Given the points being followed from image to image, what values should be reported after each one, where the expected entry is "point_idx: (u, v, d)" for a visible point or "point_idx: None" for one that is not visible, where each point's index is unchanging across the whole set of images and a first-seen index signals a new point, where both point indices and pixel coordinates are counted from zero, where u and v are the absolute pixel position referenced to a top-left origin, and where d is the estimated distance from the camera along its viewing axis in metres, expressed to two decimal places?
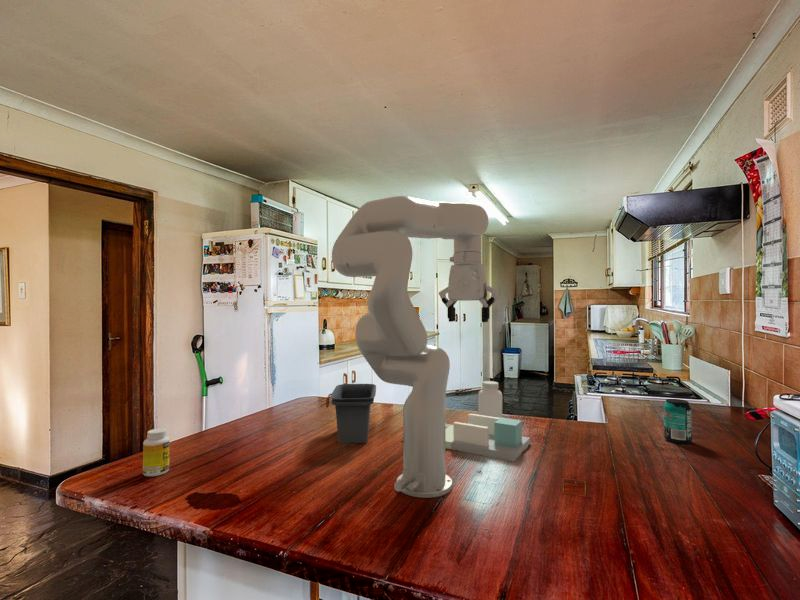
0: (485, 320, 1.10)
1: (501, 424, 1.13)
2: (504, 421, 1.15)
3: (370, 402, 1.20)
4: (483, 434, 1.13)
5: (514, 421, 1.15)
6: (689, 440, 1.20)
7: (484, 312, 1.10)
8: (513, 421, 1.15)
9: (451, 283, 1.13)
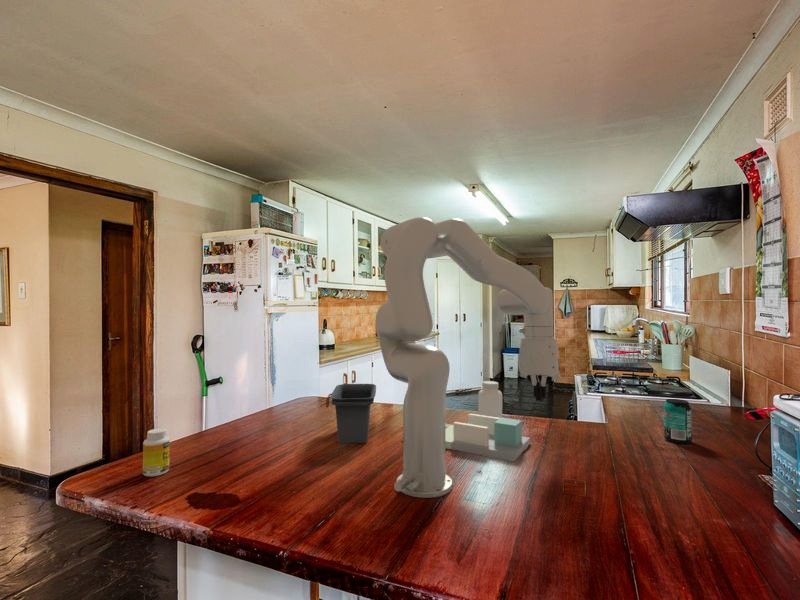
0: (542, 399, 1.11)
1: (501, 424, 1.13)
2: (504, 421, 1.15)
3: (370, 402, 1.20)
4: (483, 434, 1.13)
5: (514, 421, 1.15)
6: (689, 440, 1.20)
7: (542, 391, 1.10)
8: (513, 421, 1.15)
9: (522, 356, 1.11)
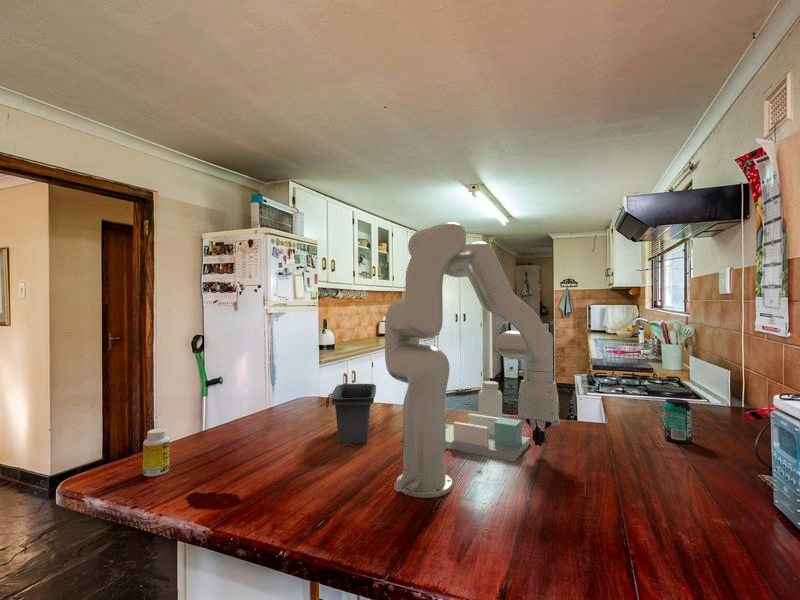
0: (541, 443, 1.10)
1: (501, 424, 1.13)
2: (504, 421, 1.15)
3: (370, 402, 1.20)
4: (483, 434, 1.13)
5: (514, 421, 1.15)
6: (689, 440, 1.20)
7: (541, 436, 1.10)
8: (513, 421, 1.15)
9: (522, 400, 1.11)
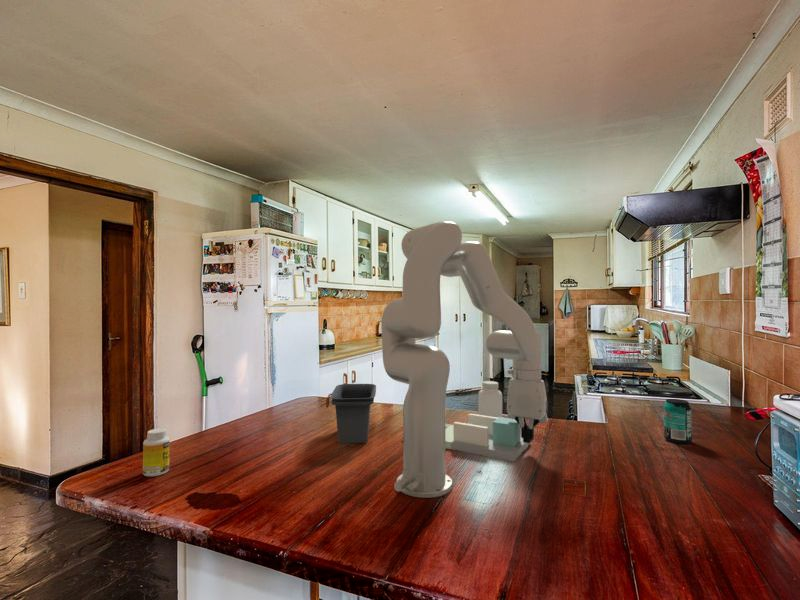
0: (530, 441, 1.12)
1: (499, 423, 1.14)
2: (503, 421, 1.16)
3: (370, 402, 1.20)
4: (483, 434, 1.13)
5: (512, 421, 1.16)
6: (689, 440, 1.20)
7: (529, 433, 1.12)
8: (511, 421, 1.16)
9: (510, 398, 1.13)
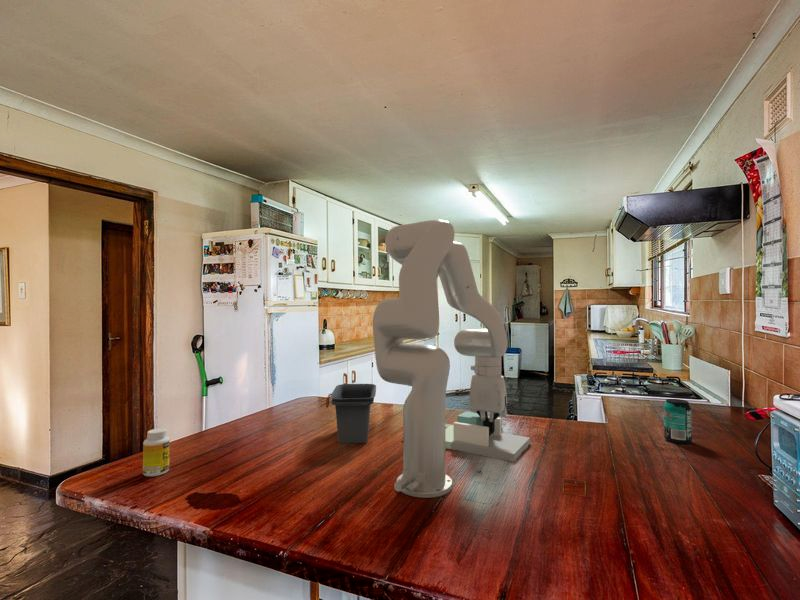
0: (490, 433, 1.18)
1: (463, 417, 1.20)
2: (467, 415, 1.22)
3: (370, 402, 1.20)
4: (483, 434, 1.13)
5: (476, 415, 1.22)
6: (689, 440, 1.20)
7: (490, 426, 1.18)
8: (475, 415, 1.22)
9: (472, 393, 1.19)
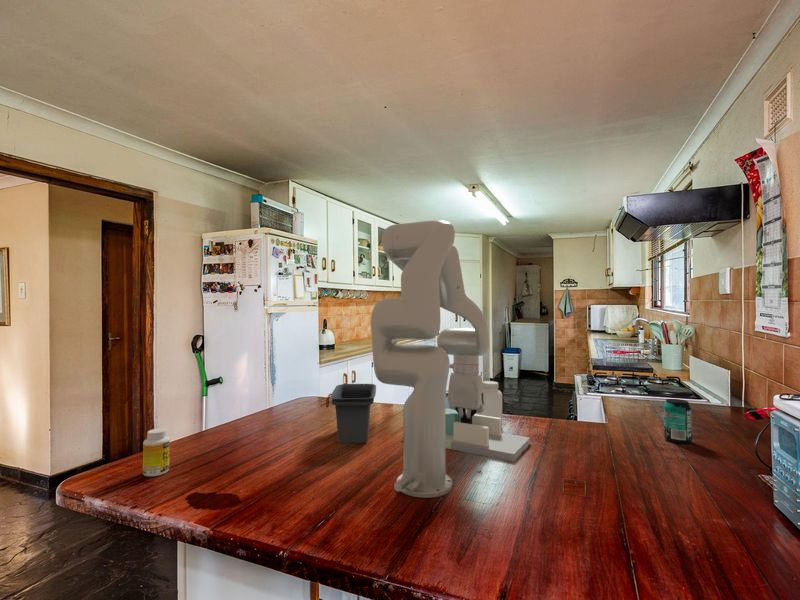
0: None
1: None
2: (446, 411, 1.26)
3: (370, 402, 1.20)
4: (483, 434, 1.13)
5: (455, 411, 1.26)
6: (689, 440, 1.20)
7: (467, 422, 1.21)
8: (454, 411, 1.26)
9: (451, 390, 1.22)
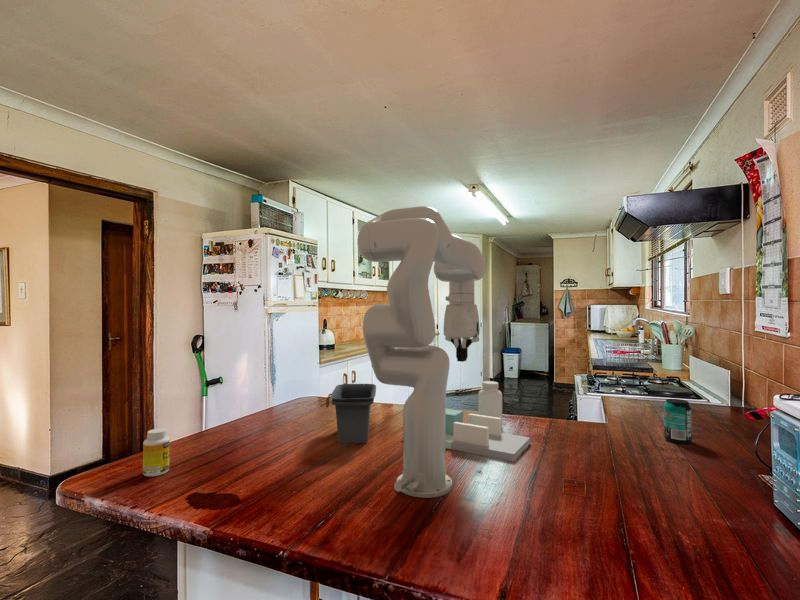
0: (463, 359, 1.22)
1: None
2: (446, 411, 1.26)
3: (370, 402, 1.20)
4: (483, 434, 1.13)
5: (455, 411, 1.26)
6: (689, 440, 1.20)
7: (463, 353, 1.21)
8: (454, 411, 1.26)
9: (446, 321, 1.23)
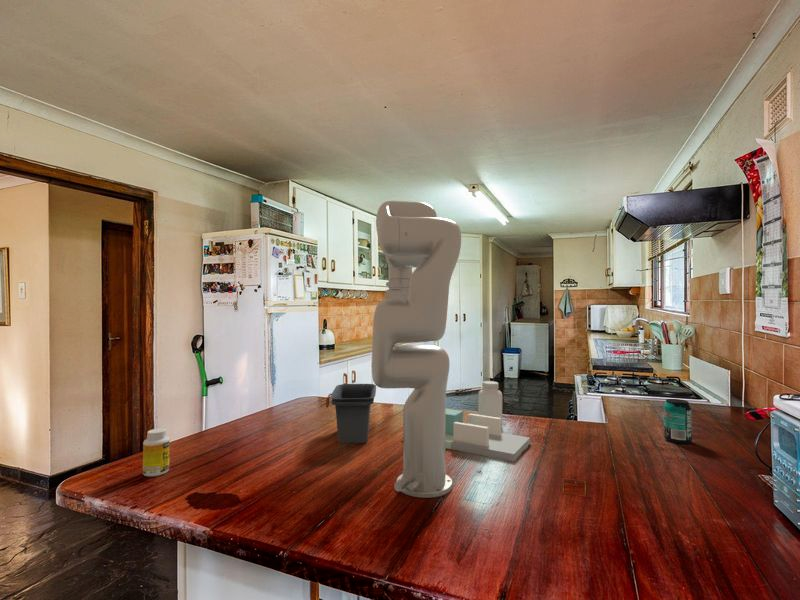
0: None
1: None
2: (446, 411, 1.26)
3: (370, 402, 1.20)
4: (483, 434, 1.13)
5: (455, 411, 1.26)
6: (689, 440, 1.20)
7: None
8: (454, 411, 1.26)
9: None
